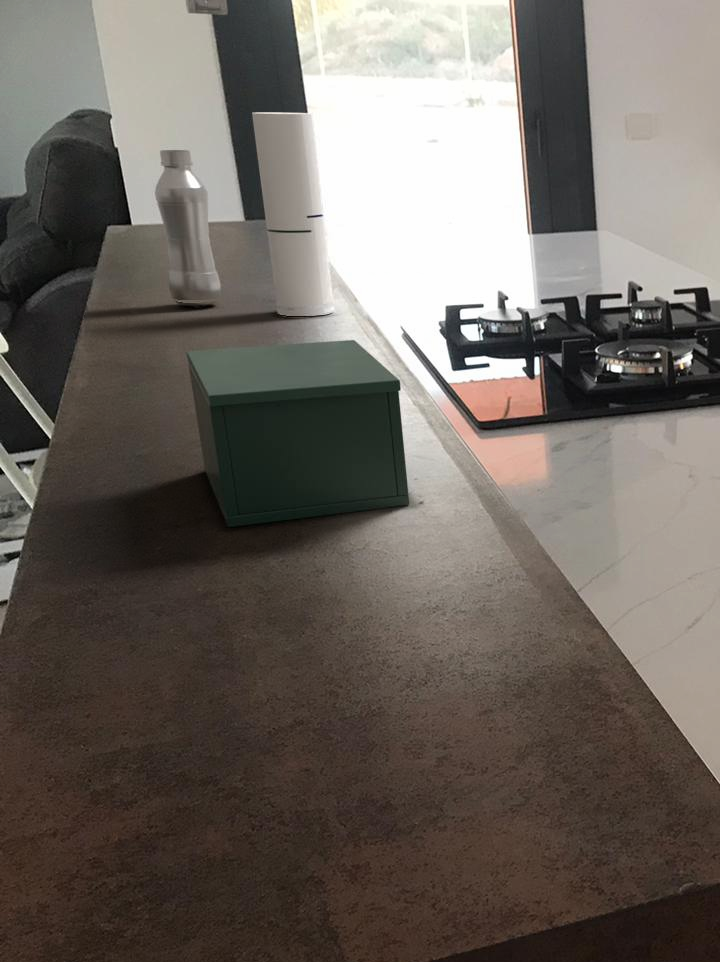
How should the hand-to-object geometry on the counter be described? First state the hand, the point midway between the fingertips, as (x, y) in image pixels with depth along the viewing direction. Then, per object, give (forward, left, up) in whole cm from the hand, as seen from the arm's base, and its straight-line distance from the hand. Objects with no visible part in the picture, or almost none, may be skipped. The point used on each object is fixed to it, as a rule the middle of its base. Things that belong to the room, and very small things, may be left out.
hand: (207, 14), depth 104 cm
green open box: (+19, -10, -34) cm, 41 cm away
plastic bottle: (-62, +34, -34) cm, 78 cm away
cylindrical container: (-47, +40, -34) cm, 70 cm away
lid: (+20, -11, -25) cm, 34 cm away
